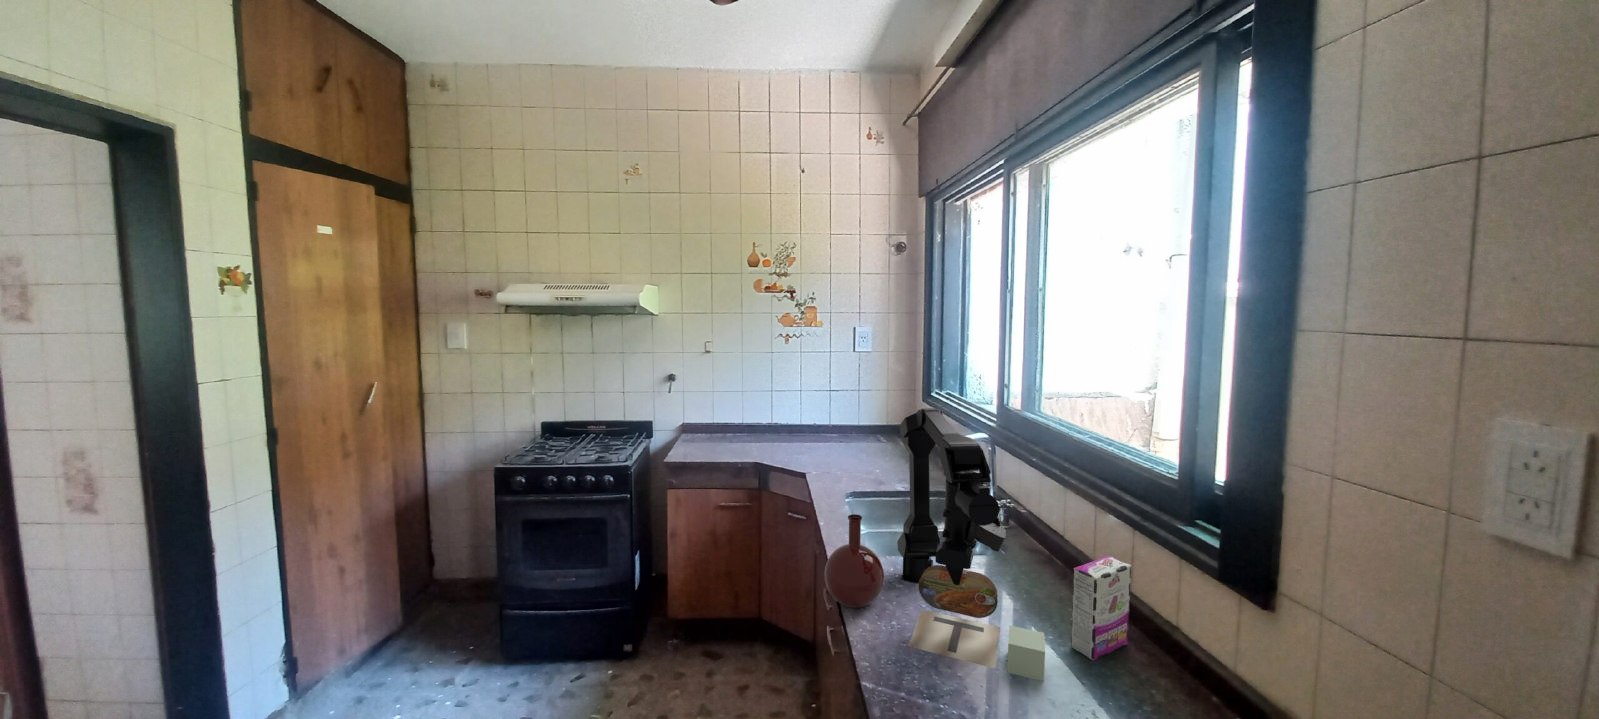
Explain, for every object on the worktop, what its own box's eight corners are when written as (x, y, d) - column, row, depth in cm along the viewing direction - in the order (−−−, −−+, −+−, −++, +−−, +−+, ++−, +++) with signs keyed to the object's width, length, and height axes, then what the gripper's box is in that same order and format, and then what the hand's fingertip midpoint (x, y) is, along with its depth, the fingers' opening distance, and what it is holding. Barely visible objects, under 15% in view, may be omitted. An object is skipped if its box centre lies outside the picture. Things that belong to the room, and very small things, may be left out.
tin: (917, 604, 108) (918, 566, 106) (920, 595, 110) (921, 558, 109) (996, 623, 102) (998, 584, 100) (997, 613, 104) (999, 575, 103)
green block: (1007, 674, 96) (1008, 643, 95) (1008, 655, 101) (1009, 625, 101) (1043, 684, 93) (1045, 651, 93) (1042, 663, 99) (1044, 632, 98)
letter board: (908, 648, 103) (908, 645, 103) (921, 610, 116) (922, 609, 116) (995, 670, 96) (995, 668, 96) (1000, 628, 109) (1000, 626, 109)
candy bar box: (1103, 631, 109) (1108, 554, 107) (1128, 645, 104) (1133, 565, 103) (1068, 647, 103) (1072, 566, 102) (1092, 662, 99) (1097, 578, 97)
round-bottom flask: (845, 627, 110) (846, 533, 108) (813, 596, 121) (814, 512, 119) (895, 610, 116) (897, 522, 114) (861, 583, 127) (862, 502, 126)
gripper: (1001, 529, 92) (998, 615, 93) (1006, 495, 109) (1003, 568, 110) (936, 519, 96) (933, 601, 98) (950, 488, 113) (948, 558, 115)
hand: (957, 581), depth 105 cm, fingers closed on tin, 3 cm apart
